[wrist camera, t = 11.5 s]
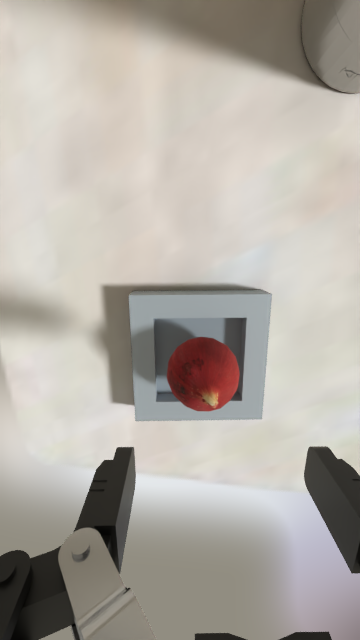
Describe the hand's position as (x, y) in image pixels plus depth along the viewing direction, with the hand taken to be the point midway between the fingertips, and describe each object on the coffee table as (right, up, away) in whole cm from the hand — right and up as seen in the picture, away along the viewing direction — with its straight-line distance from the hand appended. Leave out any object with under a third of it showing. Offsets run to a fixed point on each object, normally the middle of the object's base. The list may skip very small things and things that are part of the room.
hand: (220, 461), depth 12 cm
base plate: (0, +3, +14) cm, 15 cm away
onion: (0, +3, +13) cm, 14 cm away
